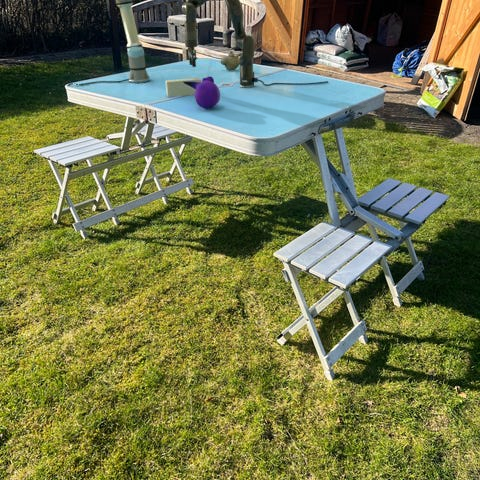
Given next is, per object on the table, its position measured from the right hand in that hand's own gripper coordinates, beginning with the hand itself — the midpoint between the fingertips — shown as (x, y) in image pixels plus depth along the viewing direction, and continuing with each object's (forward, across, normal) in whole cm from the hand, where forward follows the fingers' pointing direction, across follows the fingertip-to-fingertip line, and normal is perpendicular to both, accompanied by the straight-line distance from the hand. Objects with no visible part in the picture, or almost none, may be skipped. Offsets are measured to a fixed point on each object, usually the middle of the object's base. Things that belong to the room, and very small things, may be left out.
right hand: (192, 65), depth 291 cm
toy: (+18, -36, +2) cm, 40 cm away
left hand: (-10, +67, -16) cm, 69 cm away
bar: (+18, 0, +7) cm, 19 cm away
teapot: (+18, +73, -48) cm, 89 cm away
